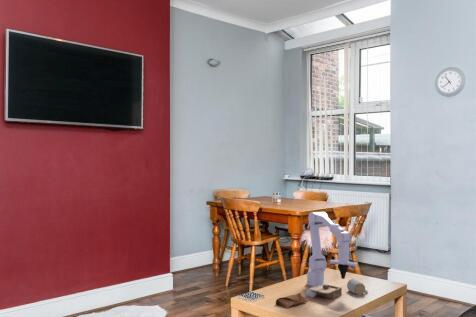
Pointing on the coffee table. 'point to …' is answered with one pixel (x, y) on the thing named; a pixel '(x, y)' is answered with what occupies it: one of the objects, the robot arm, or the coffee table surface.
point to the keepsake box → (333, 294)
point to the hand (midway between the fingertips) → (343, 278)
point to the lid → (324, 289)
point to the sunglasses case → (291, 301)
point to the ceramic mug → (356, 287)
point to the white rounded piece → (311, 293)
